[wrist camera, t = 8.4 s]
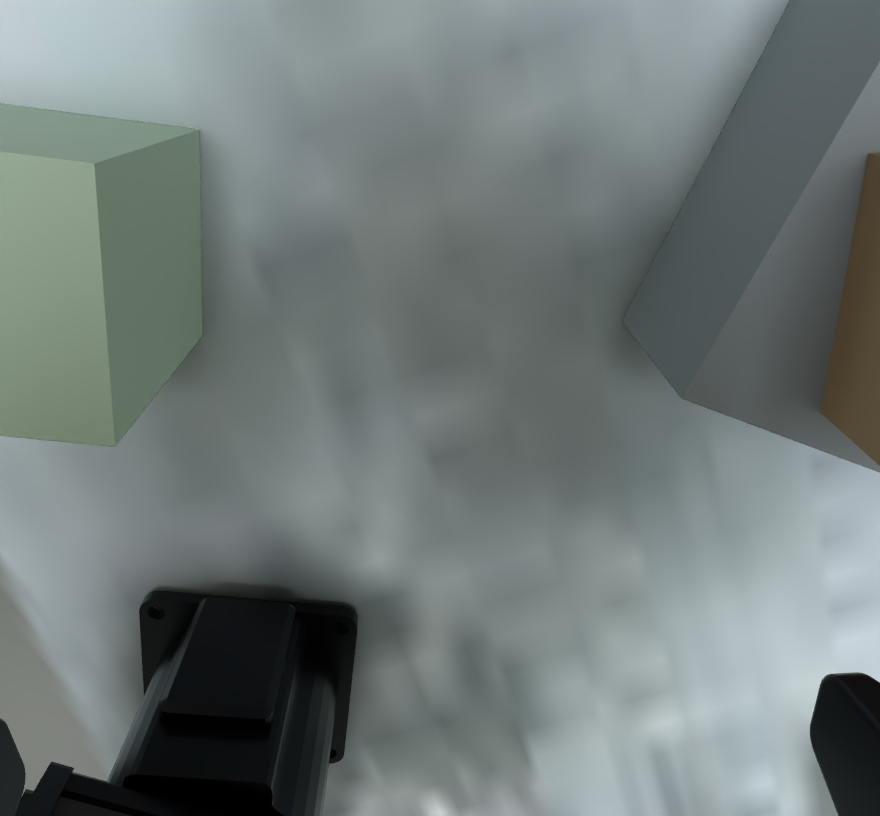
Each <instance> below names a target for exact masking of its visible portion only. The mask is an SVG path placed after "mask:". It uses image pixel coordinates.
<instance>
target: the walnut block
mask: <svg viewBox="0 0 880 816" xmlns="http://www.w3.org/2000/svg"><path fill="white" fill-rule="evenodd" d="M820 413H821V414H822V415H824V416H825V417H826V418H827V419H828V420H829V421H830V422H831V423H832V424H834V425H835V426H836V427H837V428H838V429H839V430H840V431H841V432H842V433H843V434H845V435H846V436H847V437H848V438H849V439H850V440H851V441H852V442H853V443H855V444H856V445H857V446H858V447H859V448H860V449H861V450H862V451H863V452H865V453H866V454H867V455H868V456H869V457H870V458H871V459H872V460H873V461H875V462H876V463H877V464H878V465H879V466H880V152H879V153H868V159H867V164H866V170H865V175H864V180H863V186H862V191H861V196H860V202H859V207H858V212H857V218H856V223H855V229H854V234H853V239H852V245H851V250H850V255H849V261H848V266H847V272H846V277H845V282H844V288H843V293H842V298H841V304H840V309H839V315H838V320H837V325H836V331H835V336H834V341H833V347H832V352H831V358H830V363H829V368H828V374H827V379H826V384H825V390H824V395H823V401H822V406H821V411H820Z"/></svg>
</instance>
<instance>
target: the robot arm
mask: <svg viewBox="0 0 880 816" xmlns="http://www.w3.org/2000/svg"><path fill="white" fill-rule="evenodd" d="M153 606H157V607H161V608H162V609H163V610H162V611H161V610H157V609H156V608H154V607H153ZM139 615H140V632H141V648H142V665H143V682H144V698H143V700H142V702H141V705H140V707H139V709H138V712H137V714H136V716H135V718H134V721H133V723H132V725H131V728H130V730H129V732H128V735H127V737H126V739H125V742H124V744H123V746H122V748H121V751H120V753H119V755H118V758H117V760H116V762H115V765H114V767H113V769H112V772H111V774H110V776H109V778H108V781H107V782H106V781H103V780H99V779H96V778H91V777H88V776H85V775H81V774H78V773H74V772H73V769H74V768H72V767H68V766H65V765H61V764H58V763H54V762H51V763H50V765H49V766H48V768H47V770H46V772H45V773H44V775H43V777H42V778H41V780H40V782H39V784H38V785H37V787H36V789H35V790H34V791H31V790H28V789H26V790H25V792H24V794H23V796H22V793H23V789H24V785H25V768H24V764H23V762H22V759H21V757H20V754H19V752H18V750H17V748H16V745H15V743H14V740H13V738H12V735H11V733H10V731H9V728H8V726H7V724H6V723H5V721H3V720H2V719H0V816H322V811H323V804H324V796H325V788H326V781H327V773H328V765H329V763H336V762H338V761H340V760H341V759H342V758H343V755H344V749H345V739H346V730H347V721H348V711H349V702H350V693H351V683H352V674H353V664H354V655H355V646H356V636H357V627H358V616H357V614H356V613H355V611H353V610H352V609H350V608H347V607H343V606H331V605H319V604H308V603H296V602H284V601H272V600H261V599H249V598H237V597H225V596H214V595H202V594H190V593H178V592H167V591H153V592H151V593H149V594H148V595H147V596H146V597H145V598H144V600H143V602H142V604H141V606H140V611H139ZM337 622H344V623H346V624H347V625H342V626H341V625H338V624H336V623H337ZM810 738H811V743H812V747H813V750H814V753H815V756H816V758H817V761H818V764H819V766H820V769H821V772H822V774H823V777H824V779H825V782H826V785H827V787H828V790H829V793H830V795H831V798H832V800H833V803H834V806H835V808H836V811H837V813H838V816H880V683H879V682H878V681H876V680H875V679H874V678H872V677H870V676H868V675H866V674H863V673H839V674H829V675H826V676H825V677H824V678H823V679H822V681H821V684H820V688H819V692H818V696H817V700H816V704H815V708H814V712H813V716H812V720H811V724H810ZM21 796H22V797H21Z"/></svg>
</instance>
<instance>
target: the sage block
mask: <svg viewBox="0 0 880 816" xmlns="http://www.w3.org/2000/svg"><path fill="white" fill-rule="evenodd" d="M202 336H203V333H202V258H201V184H200V129H192V128H185V127H177V126H169V125H162V124H154V123H146V122H139V121H131V120H123V119H116V118H108V117H100V116H93V115H85V114H78V113H70V112H62V111H55V110H47V109H39V108H32V107H24V106H16V105H9V104H1V103H0V436H8V437H18V438H28V439H39V440H49V441H59V442H70V443H80V444H91V445H101V446H111V447H115V446H116V445H117V444H118V443H119V441H120V440H121V439H122V437H123V436H124V435H125V434H126V432H127V431H128V430H129V429H130V427H131V426H132V425H133V423H134V422H135V421H136V420H137V418H138V417H139V416H140V415H141V413H142V412H143V411H144V409H145V408H146V407H147V406H148V404H149V403H150V402H151V401H152V399H153V398H154V397H155V395H156V394H157V393H158V392H159V390H160V389H161V388H162V386H163V385H164V384H165V383H166V381H167V380H168V379H169V378H170V376H171V375H172V374H173V372H174V371H175V370H176V369H177V367H178V366H179V365H180V364H181V362H182V361H183V360H184V358H185V357H186V356H187V355H188V353H189V352H190V351H191V350H192V348H193V347H194V346H195V344H196V343H197V342H198V341H199V339H200V338H201V337H202Z"/></svg>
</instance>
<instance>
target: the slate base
mask: <svg viewBox="0 0 880 816" xmlns="http://www.w3.org/2000/svg"><path fill="white" fill-rule="evenodd" d="M879 152H880V0H790V2H789V4H788V5H787V7H786V9H785V11H784V13H783V15H782V17H781V19H780V21H779V23H778V24H777V26H776V28H775V30H774V32H773V34H772V36H771V38H770V40H769V42H768V44H767V45H766V47H765V49H764V51H763V53H762V55H761V57H760V59H759V61H758V63H757V64H756V66H755V68H754V70H753V72H752V74H751V76H750V78H749V80H748V82H747V83H746V85H745V87H744V89H743V91H742V93H741V95H740V97H739V99H738V101H737V103H736V104H735V106H734V108H733V110H732V112H731V114H730V116H729V118H728V120H727V122H726V123H725V125H724V127H723V129H722V131H721V133H720V135H719V137H718V139H717V141H716V143H715V144H714V146H713V148H712V150H711V152H710V154H709V156H708V158H707V160H706V162H705V163H704V165H703V167H702V169H701V171H700V173H699V175H698V177H697V179H696V181H695V182H694V184H693V186H692V188H691V190H690V192H689V194H688V196H687V198H686V200H685V202H684V203H683V205H682V207H681V209H680V211H679V213H678V215H677V217H676V219H675V221H674V222H673V224H672V226H671V228H670V230H669V232H668V234H667V236H666V238H665V240H664V242H663V243H662V245H661V247H660V249H659V251H658V253H657V255H656V257H655V259H654V261H653V262H652V264H651V266H650V268H649V270H648V272H647V274H646V276H645V278H644V280H643V281H642V283H641V285H640V287H639V289H638V291H637V293H636V295H635V297H634V299H633V301H632V302H631V304H630V306H629V308H628V310H627V312H626V314H625V316H624V318H623V320H622V323H623V324H624V325H625V326H626V328H627V329H628V330H629V332H630V333H631V334H632V335H633V337H634V338H635V339H636V341H637V342H638V343H639V344H640V346H641V347H642V348H643V350H644V351H645V352H646V353H647V355H648V356H649V357H650V359H651V360H652V361H653V362H654V364H655V365H656V366H657V368H658V369H659V370H660V371H661V373H662V374H663V375H664V377H665V378H666V379H667V380H668V382H669V383H670V384H671V386H672V387H673V388H674V389H675V391H676V392H677V393H678V395H679V396H680V397H681V398H682V399H684V400H687V401H690V402H692V403H695V404H698V405H700V406H703V407H706V408H708V409H711V410H714V411H717V412H719V413H722V414H725V415H727V416H730V417H733V418H735V419H738V420H741V421H743V422H746V423H749V424H751V425H754V426H757V427H759V428H762V429H765V430H767V431H770V432H773V433H775V434H778V435H781V436H783V437H786V438H789V439H791V440H794V441H797V442H799V443H802V444H805V445H807V446H810V447H813V448H816V449H818V450H821V451H824V452H826V453H829V454H832V455H834V456H837V457H840V458H842V459H845V460H848V461H850V462H853V463H856V464H858V465H861V466H864V467H866V468H869V469H872V470H874V471H877V472H880V466H879V465H878V464H877V463H876V462H875V461H873V460H872V459H871V458H870V457H869V456H868V455H867V454H866V453H865V452H863V451H862V450H861V449H860V448H859V447H858V446H857V445H856V444H855V443H853V442H852V441H851V440H850V439H849V438H848V437H847V436H846V435H845V434H843V433H842V432H841V431H840V430H839V429H838V428H837V427H836V426H835V425H834V424H832V423H831V422H830V421H829V420H828V419H827V418H826V417H825V416H824V415H822V414H821V413H820V411H821V406H822V401H823V395H824V390H825V384H826V379H827V374H828V368H829V363H830V358H831V352H832V347H833V341H834V336H835V331H836V325H837V320H838V315H839V309H840V304H841V298H842V293H843V288H844V282H845V277H846V272H847V266H848V261H849V255H850V250H851V245H852V239H853V234H854V229H855V223H856V218H857V212H858V207H859V202H860V196H861V191H862V186H863V180H864V175H865V170H866V164H867V159H868V153H879Z"/></svg>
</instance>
